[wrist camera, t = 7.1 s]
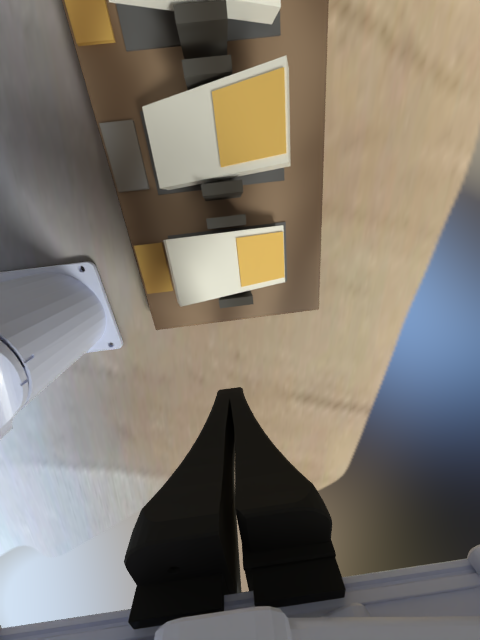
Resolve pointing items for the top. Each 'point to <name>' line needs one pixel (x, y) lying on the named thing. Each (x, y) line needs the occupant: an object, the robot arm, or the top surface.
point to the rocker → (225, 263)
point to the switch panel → (223, 195)
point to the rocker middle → (222, 128)
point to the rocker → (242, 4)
